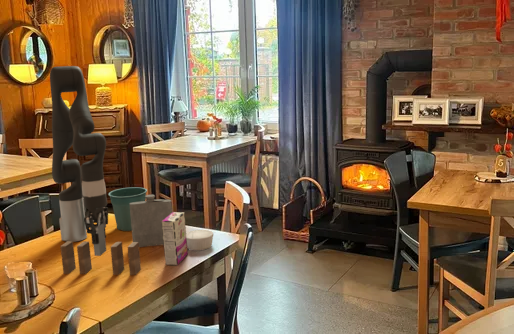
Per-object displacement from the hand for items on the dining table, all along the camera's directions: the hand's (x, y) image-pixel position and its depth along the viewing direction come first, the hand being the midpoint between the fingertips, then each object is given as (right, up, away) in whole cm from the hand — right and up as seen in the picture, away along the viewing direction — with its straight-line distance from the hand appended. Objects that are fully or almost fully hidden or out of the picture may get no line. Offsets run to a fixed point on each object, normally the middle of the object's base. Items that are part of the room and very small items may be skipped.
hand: (99, 240), depth 178 cm
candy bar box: (+25, -9, +11) cm, 28 cm away
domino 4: (+6, -11, +1) cm, 13 cm away
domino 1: (-12, -11, +4) cm, 16 cm away
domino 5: (+12, -11, +1) cm, 16 cm away
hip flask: (+13, -6, +28) cm, 32 cm away
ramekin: (+32, -6, +24) cm, 40 cm away
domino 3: (0, -4, +1) cm, 4 cm away
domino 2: (-6, -11, +3) cm, 13 cm away
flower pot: (-2, -2, +52) cm, 52 cm away
